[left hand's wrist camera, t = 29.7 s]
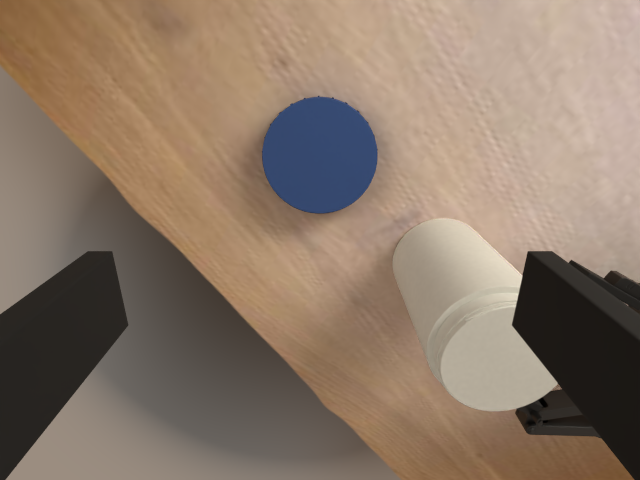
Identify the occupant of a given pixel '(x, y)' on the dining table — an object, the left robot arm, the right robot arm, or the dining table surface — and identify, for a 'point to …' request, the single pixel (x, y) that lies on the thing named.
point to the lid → (319, 155)
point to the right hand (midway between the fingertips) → (527, 325)
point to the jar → (468, 316)
